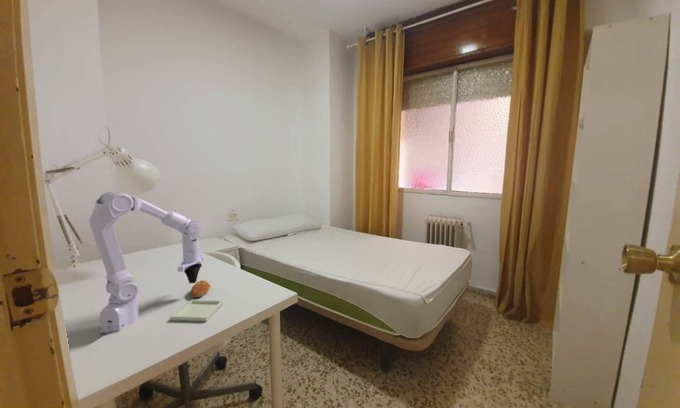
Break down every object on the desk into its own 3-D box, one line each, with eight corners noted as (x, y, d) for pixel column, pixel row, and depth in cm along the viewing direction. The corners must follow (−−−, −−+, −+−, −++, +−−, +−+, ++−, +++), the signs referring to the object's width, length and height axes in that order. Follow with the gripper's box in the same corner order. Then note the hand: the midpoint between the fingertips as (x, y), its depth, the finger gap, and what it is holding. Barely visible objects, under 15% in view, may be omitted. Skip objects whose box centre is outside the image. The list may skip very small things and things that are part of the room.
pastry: (206, 298, 104) (205, 289, 104) (187, 299, 102) (186, 290, 102) (211, 287, 113) (210, 279, 113) (193, 288, 111) (193, 280, 111)
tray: (206, 321, 88) (206, 317, 88) (171, 320, 88) (171, 316, 88) (223, 304, 100) (222, 300, 100) (192, 303, 100) (191, 299, 100)
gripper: (190, 255, 97) (191, 290, 98) (210, 245, 111) (211, 275, 113) (171, 255, 97) (173, 290, 98) (194, 244, 111) (195, 275, 113)
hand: (192, 282), depth 106 cm, fingers closed
